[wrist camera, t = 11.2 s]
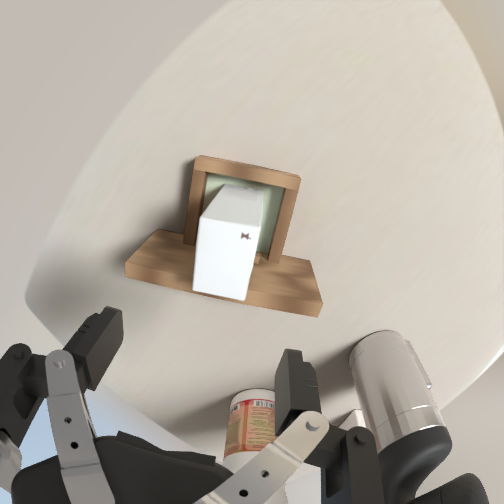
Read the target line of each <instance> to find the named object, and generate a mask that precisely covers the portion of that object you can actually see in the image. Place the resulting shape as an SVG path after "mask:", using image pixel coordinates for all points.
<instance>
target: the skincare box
mask: <svg viewBox="0 0 504 504" xmlns="http://www.w3.org/2000/svg"><path fill="white" fill-rule="evenodd" d="M263 194H264V191H263V190H258V189H253V188H248V187H242V186H237V185H231V184H225V185H224V186H223V187H222V188H221V190H220V191H219V192H218V194H217V195H216V196H215V198H214V199H213V200H212V202H211V203H210V204H209V206H208V207H207V208H206V210H205V211H204V212H203V214H202V215H201V217H200V219H199V226H198V233H197V241H196V252H195V264H194V274H193V286H192V290H193V291H198V292H203V293H208V294H212V295H217V296H221V297H226V298H231V299H236V300H240V301H244V300H245V298H246V294H247V289H248V285H249V280H250V275H251V272H252V268H253V263H254V258H255V254H256V249H257V244H258V239H259V234H260V229H261V222H262V206H263Z"/></svg>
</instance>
